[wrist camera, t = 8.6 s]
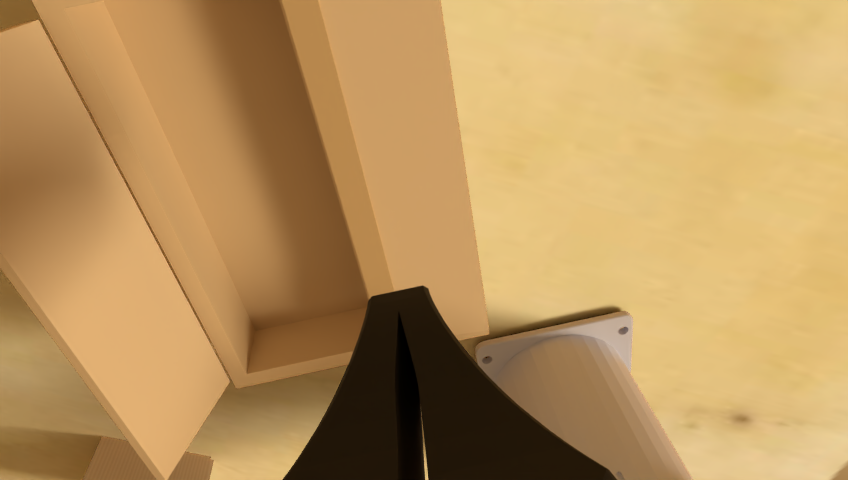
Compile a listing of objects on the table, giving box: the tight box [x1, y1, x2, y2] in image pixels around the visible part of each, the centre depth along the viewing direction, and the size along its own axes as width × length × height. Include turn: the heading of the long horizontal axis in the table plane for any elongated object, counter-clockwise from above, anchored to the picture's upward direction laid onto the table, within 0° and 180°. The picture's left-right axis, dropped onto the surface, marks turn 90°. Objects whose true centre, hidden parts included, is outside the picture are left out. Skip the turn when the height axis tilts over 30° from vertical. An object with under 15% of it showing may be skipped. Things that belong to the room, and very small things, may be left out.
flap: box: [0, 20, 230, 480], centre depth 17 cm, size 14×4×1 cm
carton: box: [32, 0, 489, 389], centre depth 21 cm, size 16×11×3 cm
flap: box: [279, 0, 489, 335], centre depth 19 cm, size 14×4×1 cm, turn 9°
